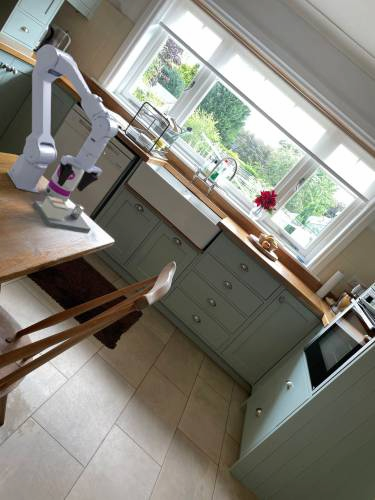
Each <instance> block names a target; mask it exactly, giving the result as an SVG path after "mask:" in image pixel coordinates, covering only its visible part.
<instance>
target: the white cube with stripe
mask: <svg viewBox="0 0 375 500" xmlns="http://www.w3.org/2000/svg"><path fill="white" fill-rule="evenodd" d="M42 202H43V204H42V208H43V210H44V211H45V213H46V214H47V216H48V217H52V218H58V219H64V217H65V215H66V214H67V212H68V211H69V208H70V207H68V205H67V204H66V202H64V201H63V200H62V199H59V198H55V197H51V196H48V195H46V197H45V199H44V201H42Z"/></svg>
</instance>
